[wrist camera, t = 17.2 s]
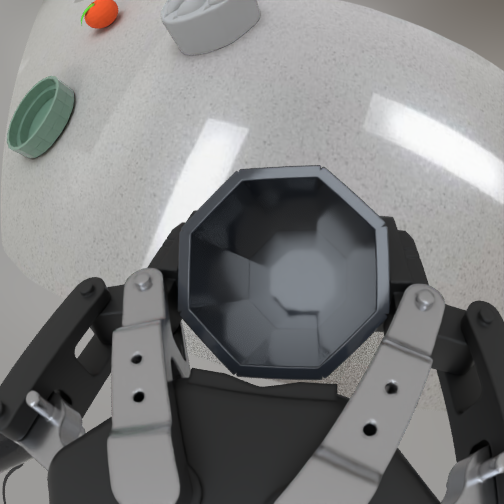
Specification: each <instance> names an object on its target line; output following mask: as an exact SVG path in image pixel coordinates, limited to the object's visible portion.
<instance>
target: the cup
mask: <svg viewBox="0 0 504 504" xmlns="http://www.w3.org/2000/svg"><path fill="white" fill-rule="evenodd" d="M385 224H386V223H385V221H384V220H383V219H382V218H381V217H380V216H378V215H377V214H376V213H375V212H374V211H373V210H372V209H371V208H370V207H369V206H368V205H367V204H366V203H365V202H364V201H363V200H361V199H360V198H359V197H358V196H357V195H356V194H355V193H354V192H353V191H352V190H350V189H349V188H348V187H347V186H346V185H345V184H344V183H343V182H341V181H340V180H339V179H338V178H337V177H336V176H334V175H333V174H332V173H331V172H330V171H329V170H327V169H326V168H325V167H322V168H321V166H320V165H311V166H285V167H267V168H251V169H240V170H239V172H238V171H236V172H235V173H234V174H233V175H232V176H231V177H230V178H229V179H228V180H227V181H226V182H225V183H224V184H223V185H222V186H221V187H220V188H219V189H218V190H217V191H216V192H215V193H214V194H213V195H212V196H211V197H210V198H209V199H208V200H207V201H206V202H205V203H204V204H203V205H202V206H201V207H200V208H199V210H198V211H197V212H196V213H195V214H194V215H193V216H192V217H191V218H190V219H189V220H188V221H187V222H186V223H185V224H184V226H183V227H182V228H181V229H182V230H183V231H180V236H179V261H178V311H179V312H180V313H179V315H180V316H181V318H182V319H183V320H184V321H185V322H186V323H187V325H188V326H189V327H190V328H191V329H192V330H193V331H194V333H195V334H196V335H197V336H198V337H199V338H200V339H201V340H202V342H203V343H204V344H205V345H206V346H207V347H208V348H209V349H210V350H211V352H212V353H213V354H214V355H215V356H216V357H217V358H218V359H219V360H220V361H221V362H222V363H223V364H224V366H225V367H226V368H227V369H228V370H229V371H230V372H231V373H232V374H233V375H234V374H236V375H237V376H238V377H249V378H264V379H287V380H322V377H323V378H327V377H328V376H329V375H330V374H331V373H332V372H333V371H334V370H335V369H337V368H338V367H339V366H340V365H341V364H342V363H343V362H344V361H345V360H346V359H347V358H348V357H349V356H350V355H352V354H353V353H354V352H355V351H356V350H357V349H358V348H359V347H360V346H361V345H362V344H363V343H364V342H365V341H366V340H367V339H368V338H369V337H370V336H371V335H372V334H373V333H374V332H375V331H376V330H377V329H378V327H379V326H380V325H381V324H382V323H383V322H384V321H385V320H386V319H387V318H388V316H387V315H386V314H389V313H390V263H389V240H388V227H387V226H384V225H385Z"/></svg>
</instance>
